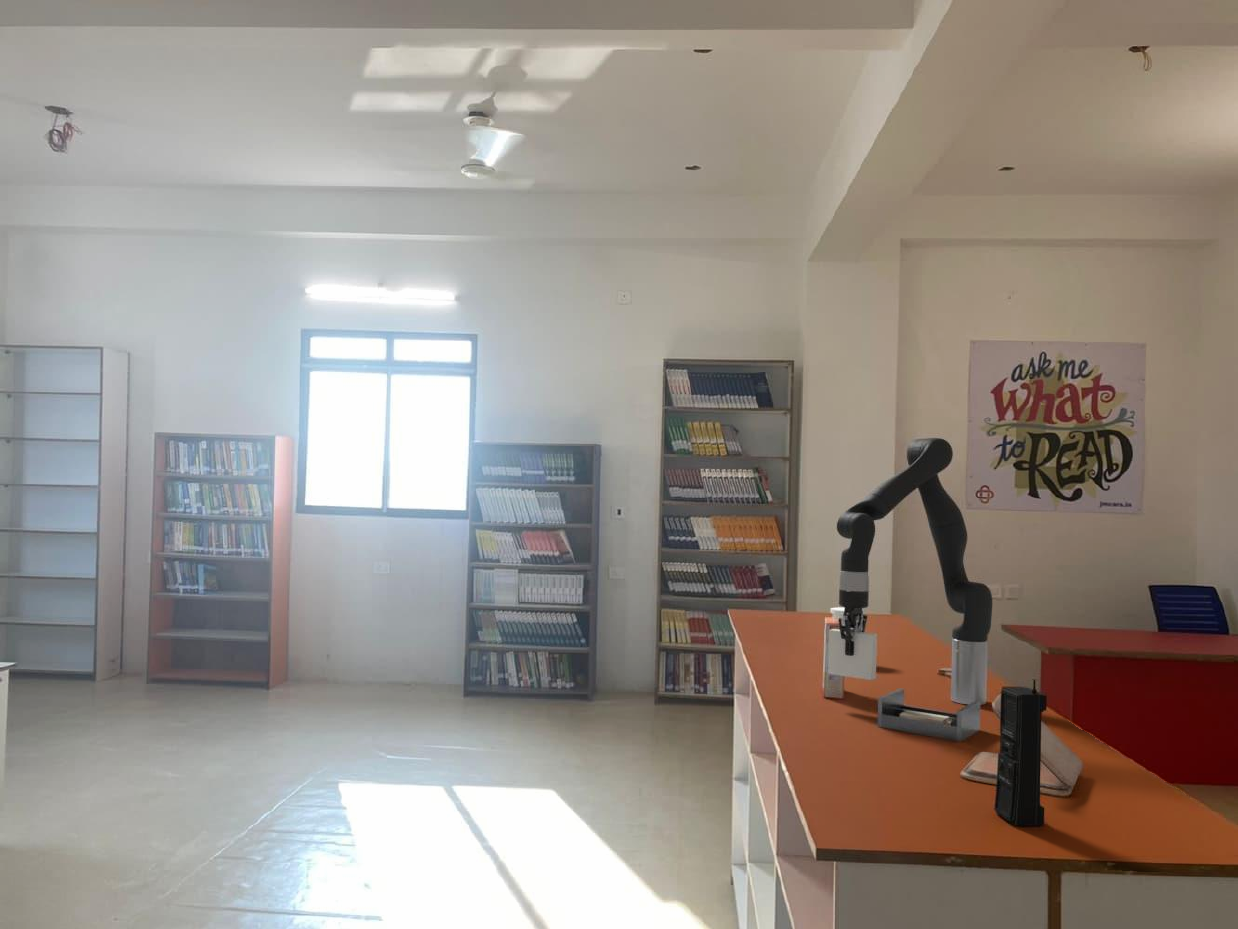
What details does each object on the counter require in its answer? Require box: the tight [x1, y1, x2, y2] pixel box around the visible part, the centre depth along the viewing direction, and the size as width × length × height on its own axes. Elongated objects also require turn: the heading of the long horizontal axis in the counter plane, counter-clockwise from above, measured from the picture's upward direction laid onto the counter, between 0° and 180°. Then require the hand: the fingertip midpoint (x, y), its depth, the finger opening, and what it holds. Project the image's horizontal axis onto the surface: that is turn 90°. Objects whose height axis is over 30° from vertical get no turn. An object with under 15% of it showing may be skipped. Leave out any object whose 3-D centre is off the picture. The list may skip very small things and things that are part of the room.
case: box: [959, 693, 1084, 798], centre depth 191 cm, size 20×21×16 cm
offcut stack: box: [900, 710, 951, 726], centre depth 227 cm, size 6×11×4 cm, turn 58°
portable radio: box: [993, 678, 1048, 827], centre depth 166 cm, size 8×6×25 cm
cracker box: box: [822, 616, 846, 700], centre depth 266 cm, size 14×6×21 cm, turn 168°
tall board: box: [828, 629, 878, 681], centre depth 247 cm, size 3×12×12 cm, turn 53°
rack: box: [877, 688, 982, 742], centre depth 229 cm, size 15×20×7 cm
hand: (852, 654), depth 246 cm, fingers closed on tall board, 3 cm apart
